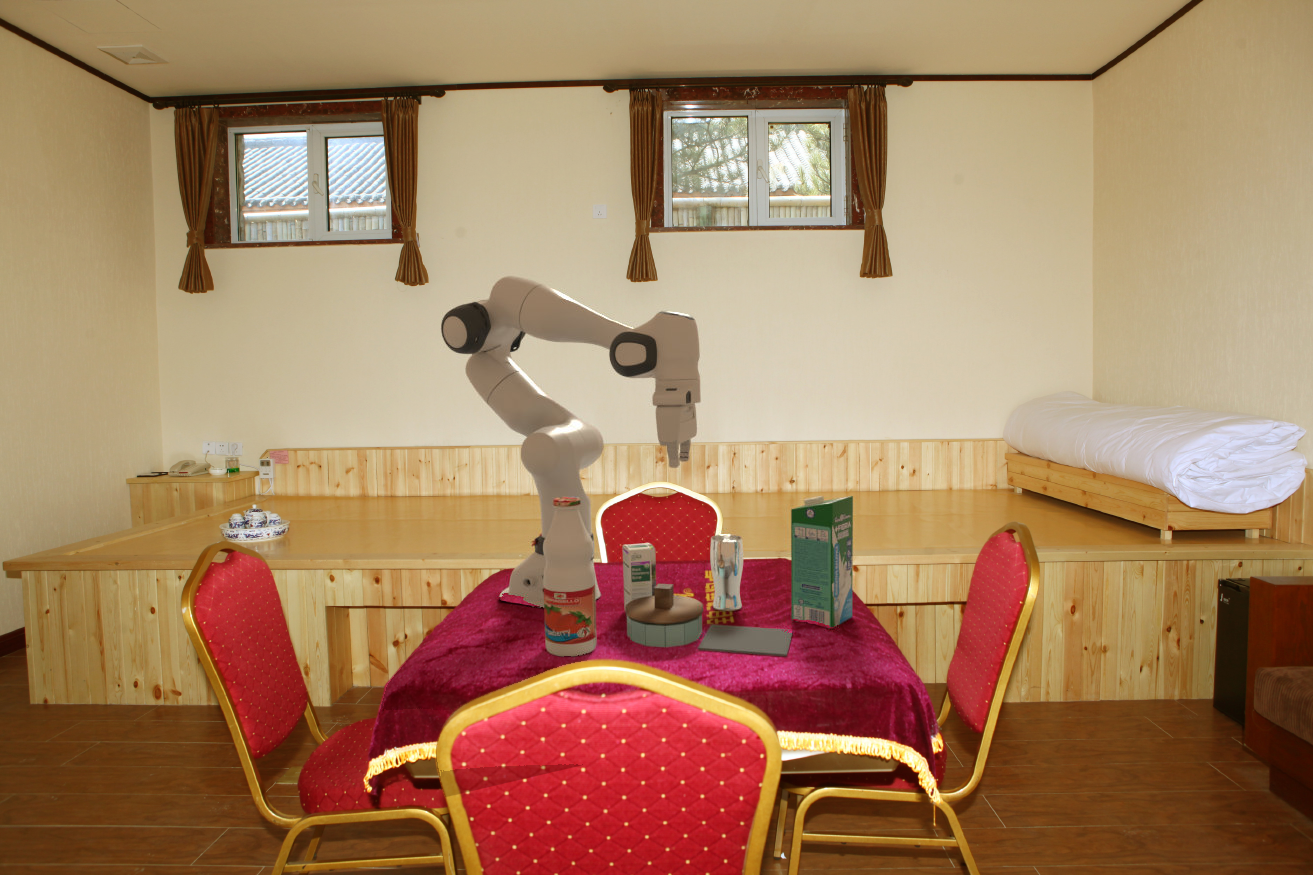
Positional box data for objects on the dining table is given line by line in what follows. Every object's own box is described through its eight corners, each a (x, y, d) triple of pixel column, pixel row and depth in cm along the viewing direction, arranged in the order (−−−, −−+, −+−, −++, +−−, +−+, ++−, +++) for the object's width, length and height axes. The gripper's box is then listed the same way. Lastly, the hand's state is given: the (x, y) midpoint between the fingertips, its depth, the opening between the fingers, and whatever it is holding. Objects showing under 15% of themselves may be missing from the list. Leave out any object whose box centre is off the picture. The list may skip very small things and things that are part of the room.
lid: (615, 620, 147) (614, 595, 146) (637, 596, 161) (637, 573, 161) (694, 625, 143) (694, 599, 143) (709, 601, 157) (709, 577, 157)
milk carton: (812, 608, 166) (812, 491, 164) (852, 617, 160) (853, 495, 158) (791, 620, 159) (790, 497, 157) (832, 629, 153) (832, 502, 151)
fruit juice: (605, 642, 148) (601, 495, 146) (582, 660, 140) (578, 504, 137) (560, 637, 152) (556, 493, 149) (536, 654, 143) (530, 501, 140)
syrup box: (630, 619, 162) (628, 549, 160) (623, 610, 167) (622, 543, 166) (657, 616, 163) (656, 547, 162) (649, 607, 169) (648, 541, 167)
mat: (698, 649, 144) (698, 647, 144) (711, 626, 156) (711, 624, 156) (786, 656, 140) (786, 654, 140) (793, 631, 152) (793, 629, 152)
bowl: (619, 643, 148) (618, 622, 147) (639, 619, 161) (639, 600, 161) (692, 649, 144) (692, 627, 144) (707, 624, 158) (707, 604, 157)
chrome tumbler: (742, 612, 164) (741, 541, 163) (708, 611, 166) (707, 540, 164) (745, 602, 171) (744, 534, 170) (713, 601, 173) (712, 533, 171)
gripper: (673, 392, 166) (675, 457, 167) (649, 396, 146) (651, 470, 148) (703, 392, 165) (704, 457, 166) (683, 396, 145) (684, 471, 146)
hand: (679, 464), depth 157 cm, fingers open, 8 cm apart
